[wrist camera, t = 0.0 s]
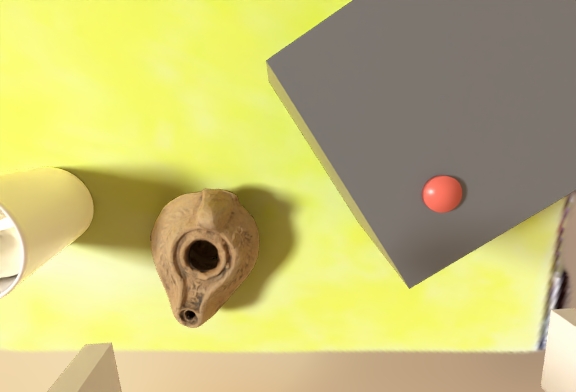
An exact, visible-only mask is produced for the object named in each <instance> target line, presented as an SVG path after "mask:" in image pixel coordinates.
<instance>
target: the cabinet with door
mask: <svg viewBox="0 0 576 392" xmlns="http://www.w3.org/2000/svg"><path fill="white" fill-rule="evenodd" d="M266 63H267V70H268V78H269V83H270V84H271V86H272V87H273V89H274V90H275V92H276V94H277V95H278V97H279V98H280V100H281V102H282V103H283V105H284V106H285V108H286V109H287V111H288V113H289V114H290V116H291V117H292V119H293V120H294V122H295V124H296V125H297V127H298V128H299V130H300V131H301V133H302V135H303V136H304V138H305V139H306V141H307V142H308V144H309V146H310V147H311V149H312V150H313V152H314V153H315V155H316V157H317V158H318V160H319V161H320V163H321V164H322V166H323V168H324V169H325V171H326V172H327V174H328V175H329V177H330V179H331V180H332V182H333V183H334V185H335V187H336V188H337V190H338V191H339V193H340V194H341V196H342V198H343V199H344V201H345V202H346V204H347V205H348V207H349V209H350V210H351V212H352V213H353V215H354V216H355V218H356V220H357V221H358V223H359V224H360V225H361V227H362V228H363V229H364V231H365V232H366V233H367V234H368V236H369V237H370V238H371V240H372V241H373V242H374V243H375V245H376V246H377V247H378V249H379V250H380V251H381V253H382V254H383V255H384V256H385V258H386V259H387V260H388V262H389V263H390V264H391V266H392V267H393V268H394V269H395V271H396V272H397V273H398V275H399V276H400V277H401V279H402V280H403V281H404V282H405V284H406V285H407V286H408V288H409V289H410V288H411V287H413V286H415V285H416V284H418V283H420V282H422V281H423V280H425V279H427V278H428V277H430V276H432V275H433V274H435V273H437V272H438V271H440V270H442V269H443V268H445V267H447V266H449V265H450V264H452V263H454V262H455V261H457V260H459V259H460V258H462V257H464V256H465V255H467V254H469V253H470V252H472V251H474V250H476V249H477V248H479V247H481V246H482V245H484V244H486V243H487V242H489V241H491V240H492V239H494V238H496V237H498V236H499V235H501V234H503V233H504V232H506V231H508V230H509V229H511V228H513V227H514V226H516V225H518V224H519V223H521V222H523V221H525V220H526V219H528V218H530V217H531V216H533V215H535V214H536V213H538V212H540V211H541V210H543V209H545V208H546V207H548V206H550V205H552V204H553V203H555V202H557V201H558V200H560V199H562V198H563V197H565V196H567V195H568V194H570V193H572V192H573V191H575V190H576V0H352V1H351V2H350V3H348V4H347V5H345V6H344V7H342V8H341V9H340V10H338V11H337V12H335V13H334V14H332V15H331V16H329V17H328V18H327V19H325V20H324V21H322V22H321V23H319V24H318V25H317V26H315V27H314V28H312V29H311V30H309V31H308V32H306V33H305V34H304V35H302V36H301V37H299V38H298V39H296V40H295V41H293V42H292V43H291V44H289V45H288V46H286V47H285V48H283V49H282V50H281V51H279V52H278V53H276V54H275V55H273V56H272V57H270V58H269V59H268V60H266Z"/></svg>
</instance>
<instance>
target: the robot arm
mask: <svg viewBox="0 0 576 392" xmlns="http://www.w3.org/2000/svg"><path fill="white" fill-rule="evenodd" d="M541 387H542V388H543V389H544V390H545V391H546V392H576V308H569V309H556V310H551V316H550V323H549V331H548V338H547V345H546V352H545V360H544V367H543V374H542V382H541ZM47 392H122V391H121V386H120V382H119V377H118V372H117V366H116V362H115V357H114V352H113V347H112V343H101V344H88V345H84V347H83V348H82V349H81V350H80V352H79V353H78V354H77V355H76V357H75V358H74V359H73V360H72V362H71V363H70V364H69V365H68V366H67V368H66V369H65V370H64V371H63V373H62V374H61V375H60V376H59V378H58V379H57V380H56V381H55V383H54V384H53V385H52V386H51V387H50V389H49V390H48V391H47Z"/></svg>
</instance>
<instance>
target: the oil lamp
mask: <svg viewBox="0 0 576 392" xmlns="http://www.w3.org/2000/svg"><path fill="white" fill-rule="evenodd" d="M150 240H151V250H152V256H153V259H154V263H155V266H156V269H157V272H158V275H159V277H160V279H161V281H162V283H163V286H164V288H165V290H166V293H167V295H168V298H169V301H170V304H171V309H172V311H173V314H174V316H175V318H176V319H177V321H178V322H179V323H180V324H182V325H185V326H187V327H191V328H196V327H199V326H201V325H202V324H203V323H204V322H206V321H207V320H208V319H210V318H211V317H212V316H213V315H214V314H215V313H216V312H217V311H218V310H219V308H220V307H221V306H222V305H223V304H224V303H225V302H226V301H227V300H228V299H229V297H230V296H231V295H232V294H233V293H234V291H235V290H236V289H237V288H238V287H239V286H240V285H241V283H242V282H243V281H244V280H245V279H246V278H247V277H248V275H249V274H250V272H251V271H252V269H253V267H254V265H255V263H256V261H257V258H258V253H259V233H258V229H257V226H256V223H255V220H254V218H253V217H252V216H251V215H250V214H249V213H248V212H247V210H246V209H245V208H244V207H243V206H242V205H241V204H240V202H239V200H238V197H237V196H236V195H235V194H233V193H232V192H229V191H225V190H221V189H203V190H202V191H201V192H195V193H188V194H183V195H180V196H178V197H177V198H175V199H173V200H172V201H170V202H169V203H168V204H167V205H165V206H164V208H163V209H162V210H161V212H160V214H159V216H158V218H157V220H156V222H155V224H154V227H153V229H152V232H151V236H150ZM212 257H218V260H214V259H211V258H212Z"/></svg>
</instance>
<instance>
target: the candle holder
mask: <svg viewBox="0 0 576 392" xmlns="http://www.w3.org/2000/svg"><path fill="white" fill-rule="evenodd" d="M93 214H94V205H93V200H92V197H91V194H90V192H89V190H88V189H87V187H86V186H85V185H84V183H83V182H82V181H81V180H80V179H79V178H77V177H76V176H75V175H73V174H72V173H70V172H68V171H65V170H63V169H59V168H55V167H38V168H30V169H23V170H16V171H9V172H2V173H0V299H1V298H2V297H4V296H6V295H7V294H9V293H10V292H11V291H12V290H13V289H15V288H16V286H17V285H19V284H20V283H21V282H22V281H24V280H25V279H26V278H27V277H29V276H30V275H31V274H33V273H34V272H35V271H36V270H38V269H39V268H40V267H42V266H43V265H44V264H45V263H47V262H48V261H49V260H51V259H52V258H53V257H54V256H56V255H57V254H58V253H60V252H61V251H62V250H63V249H65V248H66V247H67V246H69V245H70V244H71V243H72V242H74V241H75V240H76V239H77V238H79V237H80V236H81V235H82V234H83V233H84V232H85V231H86V230H87V228H88V227H89V225H90V224H91V221H92V218H93Z"/></svg>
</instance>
